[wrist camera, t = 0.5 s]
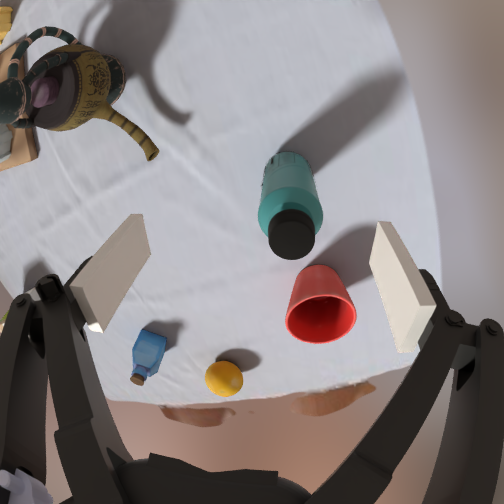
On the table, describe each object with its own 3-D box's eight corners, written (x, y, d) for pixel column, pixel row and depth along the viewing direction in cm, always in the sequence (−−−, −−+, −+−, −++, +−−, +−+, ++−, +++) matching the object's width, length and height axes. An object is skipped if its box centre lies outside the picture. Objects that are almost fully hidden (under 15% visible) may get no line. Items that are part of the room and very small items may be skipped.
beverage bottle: (270, 142, 39) (259, 196, 22) (317, 154, 39) (342, 217, 22) (260, 184, 42) (243, 264, 26) (304, 195, 43) (316, 281, 26)
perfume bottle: (166, 337, 64) (150, 379, 54) (164, 352, 67) (150, 392, 57) (141, 328, 63) (123, 369, 53) (141, 344, 67) (124, 382, 57)
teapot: (91, 23, 29) (-26, 21, 10) (196, 119, 38) (108, 169, 19) (52, 81, 34) (-58, 113, 15) (145, 174, 43) (53, 257, 24)
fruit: (203, 365, 68) (196, 391, 62) (218, 350, 64) (211, 379, 58) (234, 378, 70) (229, 405, 64) (251, 365, 66) (247, 393, 59)
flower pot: (277, 265, 50) (275, 305, 42) (341, 249, 47) (351, 287, 39) (295, 309, 55) (295, 349, 47) (352, 296, 52) (360, 335, 44)
